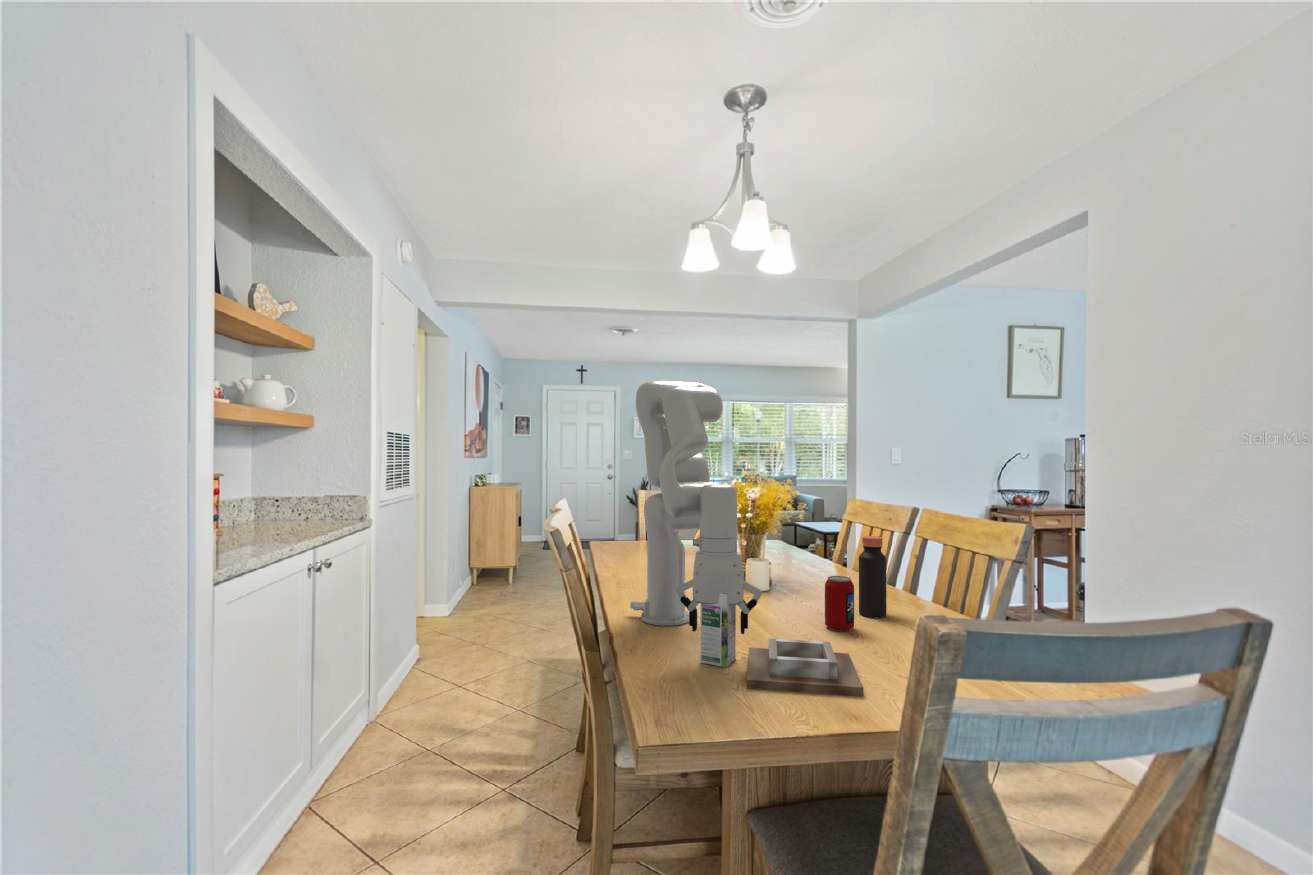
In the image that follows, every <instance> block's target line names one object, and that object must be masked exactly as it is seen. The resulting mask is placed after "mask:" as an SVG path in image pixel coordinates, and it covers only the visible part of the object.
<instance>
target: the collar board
mask: <svg viewBox="0 0 1313 875" xmlns="http://www.w3.org/2000/svg"><path fill="white" fill-rule="evenodd" d="M747 656H748V657H747V669H746V670H747V672H746V689H754V690H755V689H757V690H767V691H768V690H769V691H781V692H783V691H784V692H798V693H812V694H826V695H842V696H843V695H844V696H858V697H864V686H863V683H862V681H861V678H860V676H859V674H858V671H857V669H856V666H855V665H854V662H853V660H852V657H851V656H850V653H849V652H848V653H847V652H834V650H833V647H832V644H831V642H830V641H823V640H822V641H821V640H801V639H786V638H785V639H781V638H768V648H767V647H766V648H763V647H748V655H747Z"/></svg>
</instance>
